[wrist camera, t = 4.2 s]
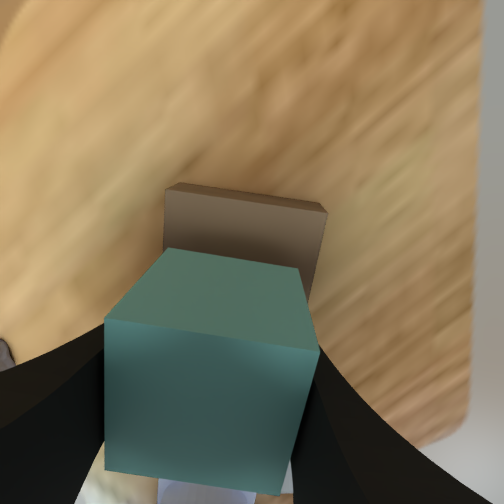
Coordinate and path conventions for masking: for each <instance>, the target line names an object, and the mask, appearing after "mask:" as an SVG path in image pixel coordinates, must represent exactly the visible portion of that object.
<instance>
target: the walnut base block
mask: <svg viewBox="0 0 504 504" xmlns="http://www.w3.org/2000/svg"><path fill="white" fill-rule="evenodd" d="M327 216H328V212H327V211H326V210H325V209H324V208H323V207H322V206H321V204H320V203H315V202H309V201H302V200H295V199H288V198H281V197H275V196H268V195H261V194H254V193H247V192H241V191H234V190H227V189H220V188H213V187H206V186H200V185H193V184H186V183H178V184H176V185H174V186H171V187H169V188H167V189H166V190H165V213H164V236H163V253H164V252H165V250H166V249H167V248H168V247H169V248H175V249H181V250H187V251H193V252H199V253H206V254H212V255H218V256H224V257H230V258H236V259H242V260H249V261H255V262H261V263H267V264H273V265H279V266H285V267H292V268H298V270H299V274H300V278H301V281H302V285H303V289H304V293H305V296H306V300H307V304H308V300H309V295H310V291H311V286H312V282H313V278H314V273H315V269H316V264H317V260H318V256H319V251H320V247H321V242H322V238H323V234H324V229H325V225H326V220H327Z"/></svg>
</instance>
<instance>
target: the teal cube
mask: <svg viewBox="0 0 504 504" xmlns="http://www.w3.org/2000/svg"><path fill="white" fill-rule="evenodd" d="M319 355H320V349H319V345H318V341H317V338H316V334H315V330H314V326H313V323H312V319H311V315H310V311H309V308H308V304H307V300H306V296H305V293H304V289H303V285H302V281H301V278H300V274H299V270H298V268H292V267H285V266H279V265H273V264H267V263H261V262H255V261H249V260H242V259H236V258H230V257H224V256H218V255H212V254H206V253H199V252H193V251H187V250H181V249H175V248H169V247H168V248H167V249H166V250H165V252H164V253H163V254H162V255H161V256H160V257H159V258H158V259H157V260H156V261H155V263H154V264H153V265H152V266H151V267H150V268H149V269H148V270H147V271H146V272H145V274H144V275H143V276H142V277H141V278H140V279H139V280H138V281H137V282H136V283H135V285H134V286H133V287H132V288H131V289H130V290H129V291H128V292H127V293H126V294H125V296H124V297H123V298H122V299H121V300H120V301H119V302H118V303H117V304H116V305H115V307H114V308H113V309H112V310H111V311H110V312H109V313H108V314H107V315H106V316H105V318H104V423H105V470H107V471H113V472H120V473H127V474H134V475H140V476H147V477H154V478H160V479H167V480H174V481H181V482H187V483H194V484H201V485H207V486H214V487H221V488H228V489H234V490H241V491H248V492H254V493H261V494H268V495H274V496H280V493H281V490H282V486H283V482H284V479H285V475H286V472H287V468H288V465H289V461H290V458H291V454H292V451H293V447H294V443H295V440H296V436H297V433H298V429H299V426H300V422H301V419H302V415H303V411H304V408H305V404H306V401H307V397H308V394H309V390H310V387H311V383H312V380H313V376H314V372H315V369H316V365H317V362H318V358H319Z"/></svg>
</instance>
